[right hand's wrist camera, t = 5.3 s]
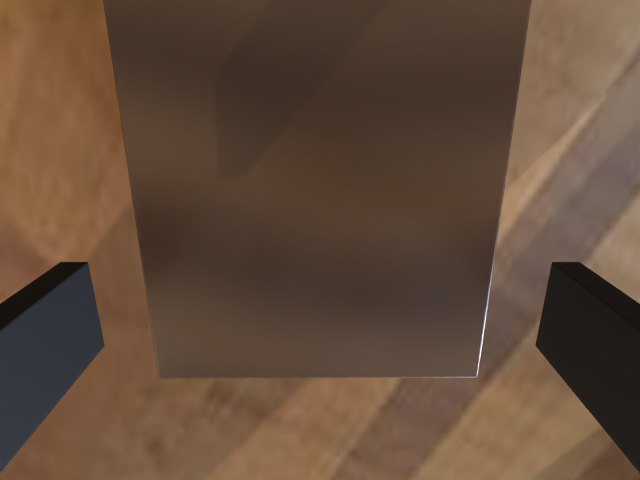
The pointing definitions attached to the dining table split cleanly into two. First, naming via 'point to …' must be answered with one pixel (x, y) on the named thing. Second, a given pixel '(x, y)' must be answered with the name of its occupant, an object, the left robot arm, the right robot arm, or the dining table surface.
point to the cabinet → (317, 179)
